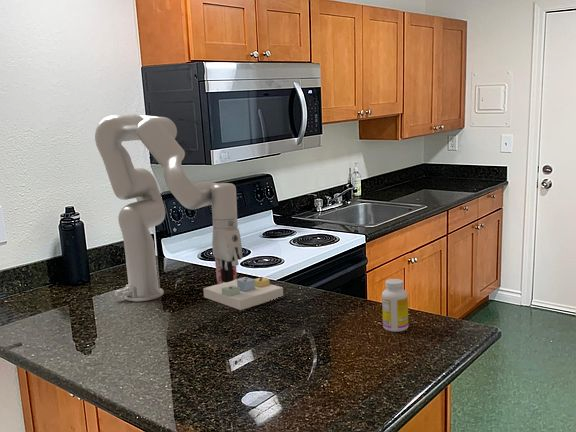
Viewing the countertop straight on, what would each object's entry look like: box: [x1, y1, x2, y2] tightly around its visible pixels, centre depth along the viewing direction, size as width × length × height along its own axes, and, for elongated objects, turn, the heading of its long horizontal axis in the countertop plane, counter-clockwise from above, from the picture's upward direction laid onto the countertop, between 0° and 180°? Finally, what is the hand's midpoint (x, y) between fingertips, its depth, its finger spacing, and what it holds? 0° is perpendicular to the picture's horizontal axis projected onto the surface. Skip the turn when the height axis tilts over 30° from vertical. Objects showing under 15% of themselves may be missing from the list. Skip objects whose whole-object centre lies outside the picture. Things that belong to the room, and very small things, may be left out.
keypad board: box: [203, 276, 284, 311], centre depth 189 cm, size 17×20×3 cm
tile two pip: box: [237, 277, 255, 292], centre depth 187 cm, size 4×4×4 cm
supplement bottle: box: [381, 278, 409, 333], centre depth 154 cm, size 7×7×13 cm
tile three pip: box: [253, 276, 271, 288], centre depth 191 cm, size 4×4×4 cm
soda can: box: [214, 257, 238, 284], centre depth 204 cm, size 7×7×12 cm
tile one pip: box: [222, 286, 240, 297], centre depth 184 cm, size 4×4×4 cm
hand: (227, 281), depth 183 cm, fingers closed
